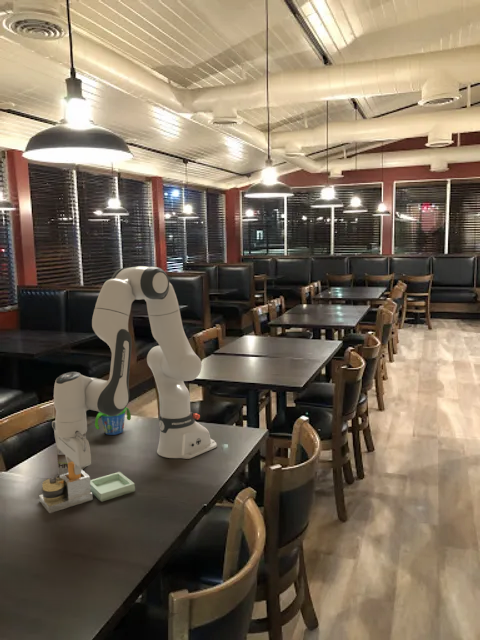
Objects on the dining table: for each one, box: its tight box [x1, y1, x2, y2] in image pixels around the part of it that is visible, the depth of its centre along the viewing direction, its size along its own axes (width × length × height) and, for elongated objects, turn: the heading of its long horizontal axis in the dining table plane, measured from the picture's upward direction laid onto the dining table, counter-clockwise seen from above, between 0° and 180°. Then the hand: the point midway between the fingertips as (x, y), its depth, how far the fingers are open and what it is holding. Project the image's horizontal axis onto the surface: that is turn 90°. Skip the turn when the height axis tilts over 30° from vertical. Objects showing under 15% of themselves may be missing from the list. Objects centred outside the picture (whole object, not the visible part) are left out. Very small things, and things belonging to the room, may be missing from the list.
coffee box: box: [56, 432, 87, 476], centre depth 181 cm, size 9×6×16 cm
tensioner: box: [38, 469, 94, 514], centre depth 160 cm, size 13×9×8 cm
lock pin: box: [68, 461, 81, 480], centre depth 162 cm, size 4×4×9 cm
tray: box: [90, 471, 136, 502], centre depth 167 cm, size 11×11×2 cm
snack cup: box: [94, 406, 132, 436], centre depth 217 cm, size 16×10×10 cm
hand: (74, 470), depth 162 cm, fingers closed on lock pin, 3 cm apart
